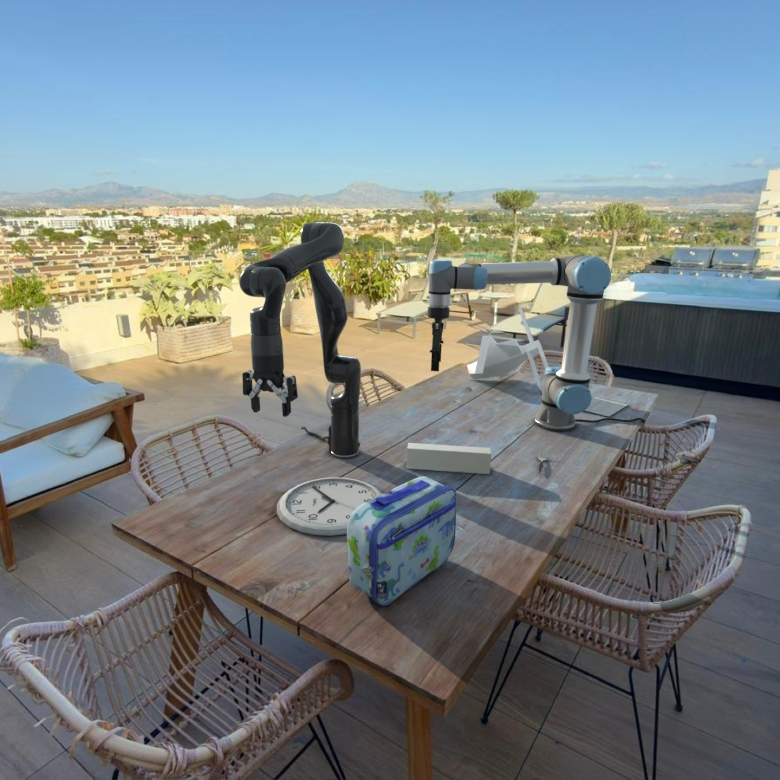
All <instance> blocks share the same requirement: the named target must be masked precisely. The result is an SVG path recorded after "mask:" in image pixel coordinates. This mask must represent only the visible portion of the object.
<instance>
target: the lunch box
mask: <svg viewBox="0 0 780 780" xmlns="http://www.w3.org/2000/svg"><path fill="white" fill-rule="evenodd" d="M456 524H457V494H456V490H455V488H454V487H453V486H451V485H444V484H441V483H440V482H438V481H436V480H434V479H432V478H431V477H428V476H422V475H421V476H419V477H416V478H413V479H411V480H408V481H407V482H404V483H402V484H400V485H398V486H396V487H394V488H392V489H390V490H388V491H386V492H383V494H381V495H380V496H378V497H376V498H374V499H372V500H370V501H368V502H365V503H363V504H362V505H360V506H358V507H357V508H356V509H355V510H354V511H353V513H352V514H351V516H350V518H349V521H348V525H347V534H346V545H347V546H346V548H347V570H348V572H347V573H348V581H349V583H350V585H351V587H353V588H354V589H356V590H358V591H361V592H362V593H364V594H365V595H366V596H368V597H369V598H371V599H372V601H373V602H374V603H375V604H378V605H379V606H383V607H386V606H388V605H390V604H392V603H394V601H396V600H397V599H398V598H399V597H400V596H402V595H403V594H404V593H406V592H407V591H408V590H410V589H411V588H413V587H414V586H415V585H417V584H418V583H419V582H421V580H422V579H424V577H426V576H427V575H430V573H432V572H434V571H435V570H436V569H438V568H440V567H441V566H442V565H444V563H446V562H447V561H448V559H449V558H450V556H451V554H452V552H453V549H454V546H455V542H456V529H457V525H456Z"/></svg>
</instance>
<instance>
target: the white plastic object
mask: <svg viewBox="0 0 780 780" xmlns="http://www.w3.org/2000/svg"><path fill="white" fill-rule="evenodd" d="M518 312H519V315H520V318H521V320H522V324H523V327H524V330H525V333H526V336H527V339H528V342H529V343H526V344H524V345H522V344H519V342H518V341H517V339H516V338H514V339H510V340H505V341H501V342H497V341H496V340H495V338H493V336H492V335H487V334H486V335H485V334H483V335H482V336H481V341H480V345H479V346H480V347H479V350H478V351H479V352H478V356H477V360H475V361H474V362H472V363H469V364H467V365H466V366H467V367H466V368H467V370H468V375H469V376H470V377H471V379H472V380H480V379H490V378H499V379H502V378H505V377H507V376H509V375H510V374H509V373H511V372H512V371H514V370H515V369H517V368H518V367H519V366H520V365H522V364H523V363H525V362H526V361H527V360H528V361H529V364H530V367H531V371H532V374H533V377H534V379H535V384H536V386H537V388H538V389H539V391H541V393H542V392H543V384H542V381H541V378H540V375H539V371H538V369H537V366H536V362H535V359H534V356H537V355H540V359H541V362H542V364H543V367H544V370H545V369H546V368H547V367H550V366H549V363H548V360H547V357H546V355H545V352H544V348H543V346H542V344H541V342H540V339H536V340H534V338H533V335H532V332H531V329H530V326H529V323H528V320H527V317H526V314H525V312H524V311H523V308H519V309H518Z"/></svg>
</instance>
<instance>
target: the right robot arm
mask: <svg viewBox="0 0 780 780" xmlns="http://www.w3.org/2000/svg"><path fill="white" fill-rule="evenodd" d="M611 280H612V271H611V268H610V265H609V263H607V262H606V261H605V260H604V259H602V258H600V257H597V256H593V255H584V254H578V255H572V256H571V255H570V256H565V257H563V256H562V257H553V258H552V259H551V260H545V261H517V262H515V261H514V262H488V263H483V262H482V263H467V262H465V263H461V264H459V265H457V266H456V265H453V261H452V260H450V259H433V260H431V261H430V262H429V270H428V295H426V299H427V305H428V307H427V317H428V318H429V319H434V321H432V323H431V329H432V330H431V331H432V332H431V335H432V339H431V340H432V341H431V342H432V343H431V349H430V350H429V353H430V354H431V358H430V361H431V362H430V372H440V363H441V362H442V347H443V346H442V345H443V344H444V340H443V332H444V326H445V322H443V320H446V319H449V318H450V310H451V308H450V307H449V306H450V305H451V297H452V296H451V290H475V291H478V290H485V289H486V288H487V285H518V284H519V285H520V284H550V285H551V286H563V287H567V290H566V298H567V299H568V300H569V308H568V309H569V310H568V317H567V323H566V329H565V337H564V338H565V339H564V345H563V351H562V359H561V365H560V366H549V367H547V368H546V369H545V368H544V373H543V381H542V382H543V384H542V387H543V392H542V391H541V393H542V394H541V402H540V405H539V407H538V410H537V411H536V413H535V416H534V424H535V425H536V426H537V427H539V428H542V429H544V430H549V431H556V432H567V431H572V430H574V429H575V428H576V422H577V423H588V424H589V423H591V424H594V423H595V424H597V423H600V422H604V421H613V422H621V423H633V422H636V421H641V422H643V423H646V420H645V419H644V418H642V417H636V418H632V419H620V418H613V417H603V418H599V419H595V420H592V419H581V418H580V419H579V418H575V417H576V416H575V415H578V414H581V413H583V412H585V411H584V410H586V409H587V408H588V407H589V405H590V403H591V400H592V398H593V397H592V396H593V395H592V392H591V390H590V389H589V388H590V383H591V381H590V380H591V375H590V374H589V373H588V366H589V365H588V363H589V359H590V358H589V357H590V352H591V351H590V350H591V345H592V338H593V332H594V325H595V318H596V313H597V307H598V303H600V302H601V301H602V300H603V298H604V293H605V290H606V289H607V288H608V287H609V285H610V284H611Z"/></svg>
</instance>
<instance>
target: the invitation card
mask: <svg viewBox="0 0 780 780" xmlns="http://www.w3.org/2000/svg"><path fill="white" fill-rule="evenodd" d="M628 406H629V404H627V403H623V402H618V401H614V400H609V399H605V398H601V397H596V396H593V397H592V400H591V403H590V405H589V407H588V408H587V409H586V410H584V411H583V412H587V413H593V414H596V415H600V416H604V417H607V418H610V417H611V416H613V415H614V414H616V413H617V412H619V411H621V410H623V409H624V408H626V407H628Z"/></svg>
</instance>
